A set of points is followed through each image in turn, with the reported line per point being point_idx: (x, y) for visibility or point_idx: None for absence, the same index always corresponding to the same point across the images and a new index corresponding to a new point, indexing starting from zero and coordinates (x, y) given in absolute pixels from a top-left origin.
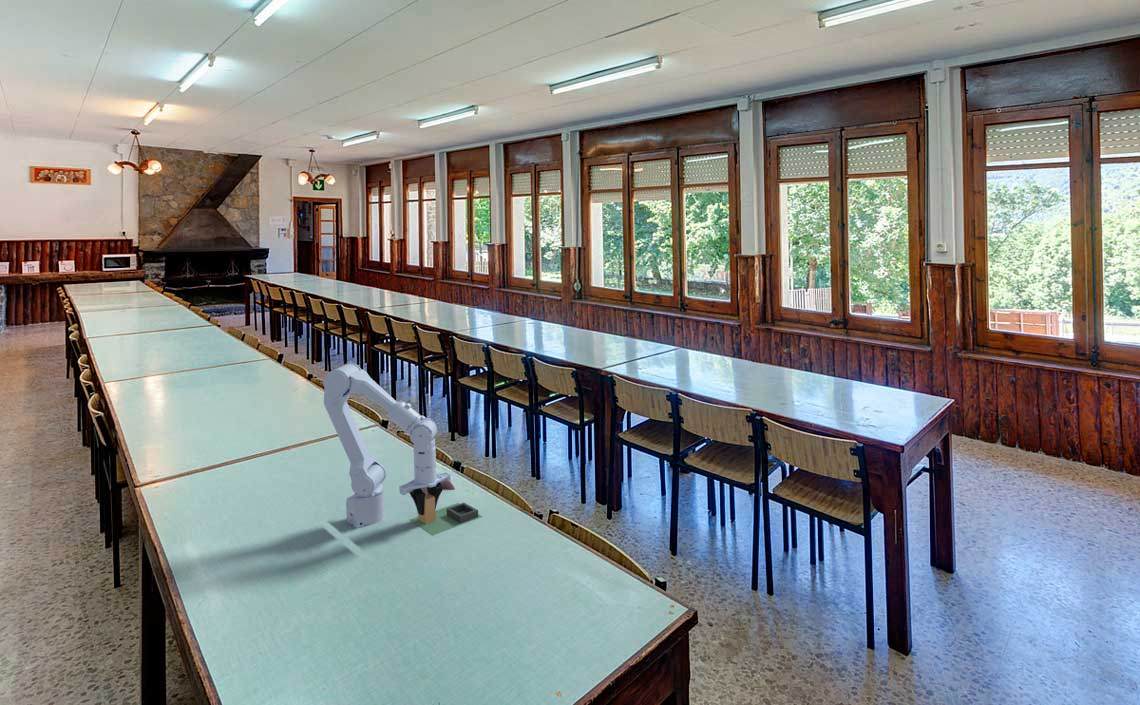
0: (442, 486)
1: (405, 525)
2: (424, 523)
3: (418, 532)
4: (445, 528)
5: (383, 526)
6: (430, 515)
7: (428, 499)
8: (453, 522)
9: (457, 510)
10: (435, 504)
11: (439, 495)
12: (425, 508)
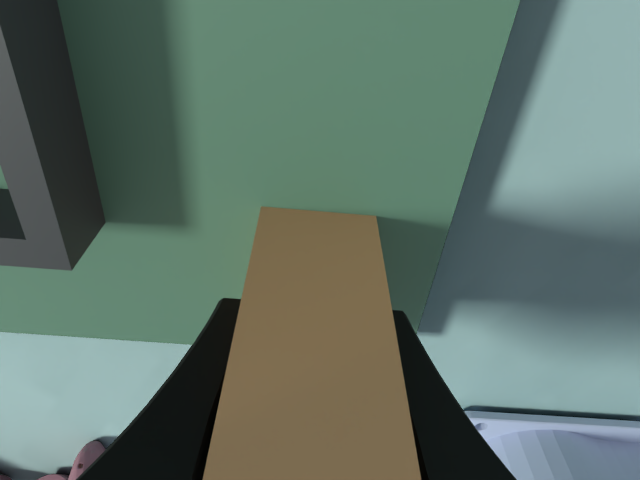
0: None
1: (435, 331)
2: None
3: (467, 183)
4: None
5: (527, 399)
6: (320, 260)
7: (350, 476)
8: (114, 23)
9: None
10: (210, 355)
11: (92, 470)
12: (397, 353)
